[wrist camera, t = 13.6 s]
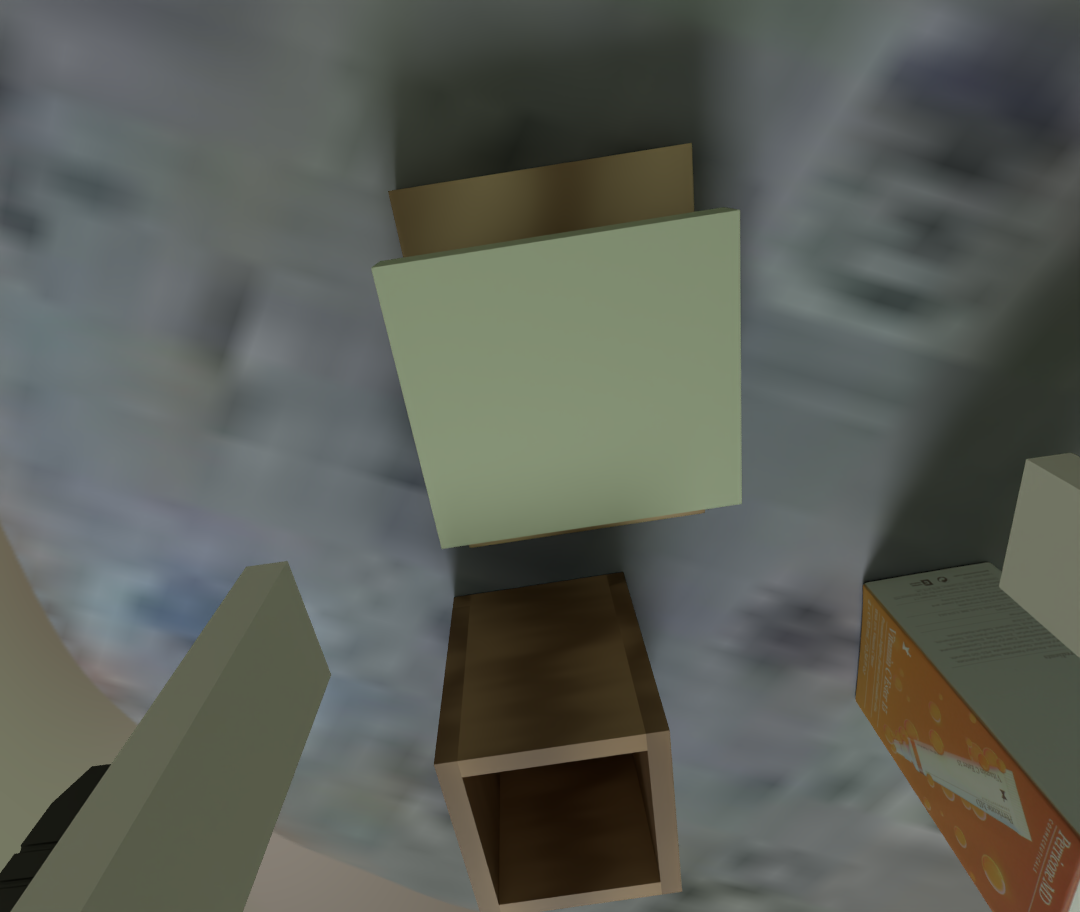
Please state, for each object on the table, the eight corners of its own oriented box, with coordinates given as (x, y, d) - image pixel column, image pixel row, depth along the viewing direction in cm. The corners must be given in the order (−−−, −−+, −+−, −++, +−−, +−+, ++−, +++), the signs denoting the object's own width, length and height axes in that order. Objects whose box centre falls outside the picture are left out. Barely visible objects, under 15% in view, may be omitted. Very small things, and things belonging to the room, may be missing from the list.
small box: (859, 579, 30) (1091, 848, 18) (991, 558, 30) (1312, 814, 18) (850, 701, 33) (1041, 995, 21) (969, 682, 33) (1226, 968, 21)
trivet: (680, 144, 21) (691, 142, 20) (694, 495, 27) (704, 512, 26) (395, 189, 22) (388, 191, 20) (471, 529, 27) (469, 547, 26)
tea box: (623, 571, 29) (669, 730, 21) (637, 711, 33) (682, 891, 24) (453, 597, 29) (433, 764, 21) (488, 733, 33) (482, 919, 25)
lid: (709, 204, 21) (739, 209, 18) (716, 467, 25) (741, 503, 22) (388, 255, 21) (371, 267, 18) (448, 508, 25) (441, 549, 23)
